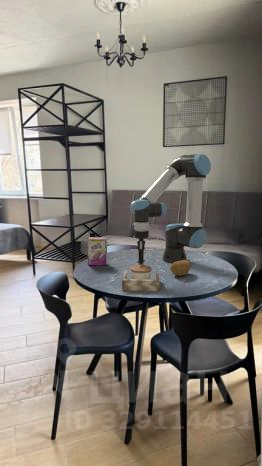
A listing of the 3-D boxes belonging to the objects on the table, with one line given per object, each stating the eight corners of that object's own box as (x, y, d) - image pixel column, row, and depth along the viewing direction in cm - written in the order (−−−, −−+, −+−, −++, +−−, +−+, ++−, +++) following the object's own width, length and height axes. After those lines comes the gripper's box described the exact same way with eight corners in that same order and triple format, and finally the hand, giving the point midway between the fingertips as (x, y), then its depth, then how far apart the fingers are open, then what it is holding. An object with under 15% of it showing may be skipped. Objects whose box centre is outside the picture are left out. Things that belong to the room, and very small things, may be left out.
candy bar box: (87, 265, 191) (87, 238, 188) (89, 263, 195) (89, 237, 193) (106, 266, 189) (105, 239, 187) (107, 263, 194) (107, 237, 191)
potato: (195, 273, 174) (195, 259, 173) (181, 280, 164) (181, 265, 162) (180, 270, 180) (180, 256, 179) (165, 276, 170) (166, 261, 169)
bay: (158, 280, 163) (158, 271, 162) (159, 290, 148) (159, 280, 148) (124, 280, 164) (124, 270, 163) (122, 290, 149) (122, 280, 148)
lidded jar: (153, 286, 155) (153, 267, 153) (131, 286, 154) (131, 268, 153) (150, 278, 166) (150, 261, 164) (129, 279, 165) (129, 262, 163)
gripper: (134, 227, 170) (134, 270, 174) (133, 232, 157) (133, 277, 162) (148, 228, 170) (148, 270, 174) (148, 232, 157) (147, 278, 161)
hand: (141, 274), depth 168 cm, fingers closed
